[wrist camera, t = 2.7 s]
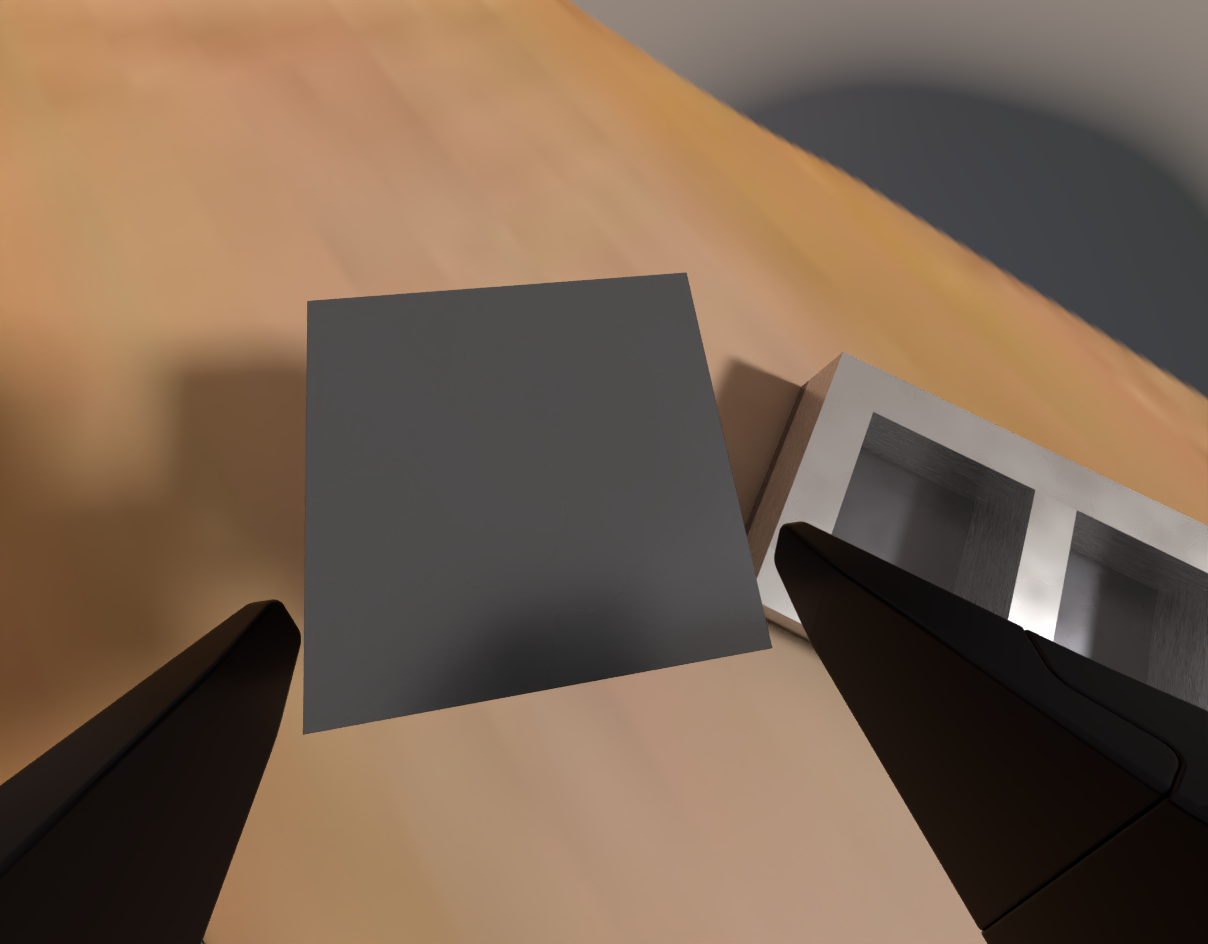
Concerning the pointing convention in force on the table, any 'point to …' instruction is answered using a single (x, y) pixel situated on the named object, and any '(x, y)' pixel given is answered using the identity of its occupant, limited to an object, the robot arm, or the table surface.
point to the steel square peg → (514, 497)
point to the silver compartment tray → (988, 525)
